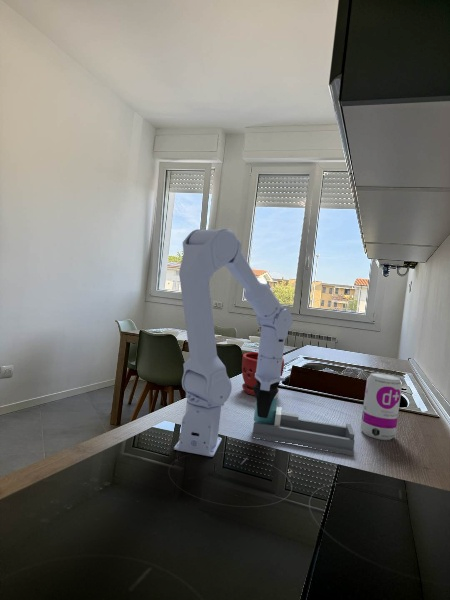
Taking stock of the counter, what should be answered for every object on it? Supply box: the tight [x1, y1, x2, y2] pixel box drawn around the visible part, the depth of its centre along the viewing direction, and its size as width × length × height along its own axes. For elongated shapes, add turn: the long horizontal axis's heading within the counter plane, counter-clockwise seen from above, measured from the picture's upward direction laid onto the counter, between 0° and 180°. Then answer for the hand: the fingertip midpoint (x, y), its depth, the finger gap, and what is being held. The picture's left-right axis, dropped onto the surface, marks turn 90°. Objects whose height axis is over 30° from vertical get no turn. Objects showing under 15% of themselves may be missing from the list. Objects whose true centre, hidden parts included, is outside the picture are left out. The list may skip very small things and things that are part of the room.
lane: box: [251, 418, 355, 457], centre depth 97 cm, size 11×22×4 cm, turn 80°
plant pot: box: [241, 351, 285, 397], centre depth 133 cm, size 13×13×12 cm
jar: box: [253, 391, 279, 425], centre depth 99 cm, size 5×5×7 cm
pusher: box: [274, 406, 300, 426], centre depth 98 cm, size 6×5×4 cm
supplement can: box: [360, 372, 403, 441], centre depth 106 cm, size 8×8×15 cm
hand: (263, 413), depth 99 cm, fingers closed on jar, 5 cm apart
